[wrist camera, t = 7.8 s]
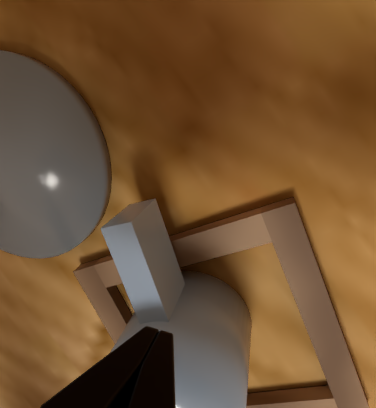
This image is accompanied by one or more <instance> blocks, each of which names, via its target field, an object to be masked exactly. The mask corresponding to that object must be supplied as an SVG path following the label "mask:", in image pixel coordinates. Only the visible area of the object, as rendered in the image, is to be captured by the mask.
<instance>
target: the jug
mask: <svg viewBox="0 0 376 408" xmlns="http://www.w3.org/2000/svg"><path fill="white" fill-rule="evenodd" d="M100 229H101V231H102V233H103V236H104V238H105V241H106V243H107V246H108V248H109V250H110V253H111V255H112V258H113V260H114V263H115V265H116V267H117V270H118V272H119V275H120V277H121V280H122V282H123V284H124V287H125V289H126V292H127V294H128V297H129V299H130V301H131V304H132V306H133V309H134V311H135V312H134V314H133V315H132V317H131V319H130V320H129V322H128V324H127V325H126V327H125V329H124V330H123V332H122V334H121V335H120V337H119V339H118V340H117V342H116V344H115V345H114V347H113V349H112V350H111V352H112V351H113V350H115V349H116V348H117V347H119V346H120V345H121V344H123V343H124V342H125V341H126V340H128V339H129V338H130V337H132V336H133V335H134V334H136V333H137V332H138V331H139V330H141V329H142V328H143V327H145V326H149V327H153V328H156V329H158V330H159V331H160V330H163V331H166V332H170V333H172V334H173V339H174V371H175V402H176V408H246V403H247V388H248V373H249V358H250V342H251V327H252V326H251V317H250V313H249V311H248V308H247V306H246V304H245V302H244V301H243V299H242V298H241V297H240V295H239V294H238V293H237V292H236V291H235V290H234V289H233V288H231V287H230V286H229V285H228V284H226V283H225V282H223V281H221V280H220V279H218V278H216V277H213V276H211V275H208V274H204V273H201V272H195V271H181V270H180V267H179V264H178V262H177V259H176V256H175V253H174V250H173V247H172V244H171V241H170V239H169V236H168V233H167V230H166V227H165V224H164V221H163V218H162V216H161V213H160V210H159V207H158V204H157V201H156V198H155V199H151V200H146V201H142V202H138V203H134V204H129V205H128V206H127V207H126V208H125V209H123V210H122V211H121V212H120V213H119V214H117V215H116V216H115V217H114V218H113V219H111V220H110V221H109V222H108V223H106V224H105V225H104V226H103V227H102V228H100ZM111 352H110V353H111Z"/></svg>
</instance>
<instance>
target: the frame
mask: <svg viewBox="0 0 376 408" xmlns="http://www.w3.org/2000/svg"><path fill="white" fill-rule="evenodd" d="M169 239H170V241H171V244H172V247H173V250H174V253H175V256H176V259H177V262H178V264H179V267H184V266H188V265H191V264H195V263H199V262H202V261H206V260H209V259H213V258H217V257H220V256H224V255H228V254H231V253H235V252H239V251H242V250H246V249H250V248H253V247H257V246H261V245H264V244H268V243H273V245H274V248H275V250H276V253H277V256H278V258H279V261H280V263H281V266H282V268H283V271H284V273H285V276H286V278H287V281H288V283H289V286H290V288H291V291H292V294H293V296H294V299H295V301H296V304H297V306H298V309H299V311H300V314H301V316H302V319H303V321H304V324H305V326H306V329H307V332H308V334H309V337H310V339H311V342H312V344H313V347H314V349H315V352H316V354H317V357H318V359H319V362H320V364H321V367H322V370H323V372H324V375H325V377H326V380H327V382H328V385H327V386H317V387H307V388H297V389H287V390H277V391H267V392H257V393H247V403H246V408H369V405H368V402H367V399H366V396H365V394H364V391H363V388H362V385H361V382H360V380H359V377H358V374H357V371H356V369H355V366H354V363H353V360H352V358H351V355H350V352H349V349H348V347H347V344H346V341H345V338H344V336H343V333H342V330H341V327H340V324H339V322H338V319H337V316H336V313H335V311H334V308H333V305H332V302H331V300H330V297H329V294H328V291H327V289H326V286H325V283H324V280H323V277H322V275H321V272H320V269H319V266H318V264H317V261H316V258H315V255H314V253H313V250H312V247H311V244H310V242H309V239H308V236H307V233H306V231H305V228H304V225H303V222H302V219H301V217H300V214H299V211H298V208H297V206H296V203H295V200H294V197H291V198H288V199H285V200H282V201H279V202H276V203H273V204H269V205H266V206H263V207H260V208H257V209H254V210H251V211H247V212H244V213H241V214H238V215H235V216H232V217H229V218H225V219H222V220H219V221H216V222H213V223H210V224H207V225H203V226H200V227H197V228H194V229H191V230H188V231H185V232H182V233H178V234H175V235H172V236H169ZM73 273H74V274H75V276H76V278H77V280H78V281H79V283H80V285H81V286H82V288H83V290H84V292H85V293H86V295H87V297H88V298H89V300H90V302H91V304H92V305H93V307H94V309H95V310H96V312H97V314H98V316H99V317H100V319H101V321H102V322H103V324H104V326H105V328H106V329H107V331H108V333H109V334H110V336H111V338H112V340H113V341H114V343H115V344H116V342H117V340H118V339H119V337H120V335H121V334H122V332H123V330H124V329H125V327H126V325H127V324H128V322H129V320H130V319H131V317H132V314H131V313H130V311H129V309H128V307H127V305H126V303H125V302H124V300H123V298H122V296H121V294H120V293H119V291H118V289H117V287H116V285H118V284H122V283H123V282H122V280H121V277H120V275H119V272H118V270H117V267H116V265H115V263H114V260H113V258H112V255H109V256H106V257H103V258H100V259H97V260H94V261H90V262H87V263H84V264H81V265H80V266H79V267H78V268H77V269H76V270H74V271H73Z"/></svg>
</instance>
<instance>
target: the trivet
mask: <svg viewBox="0 0 376 408" xmlns="http://www.w3.org/2000/svg"><path fill="white" fill-rule="evenodd" d="M110 192H111V164H110V158H109V153H108V149H107V145H106V142H105V139H104V136H103V133H102V131H101V129H100V126H99V124H98V122H97V120H96V118H95V116H94V115H93V113H92V111H91V109H90V108H89V106H88V105H87V103H86V102H85V101H84V99H83V98H82V96H81V95H80V94H79V93H78V92H77V91H76V90H75V88H74V87H73V86H72V85H71V84H70V83H69V82H68V81H67V80H66V79H64V78H63V77H62V76H61V75H60V74H59V73H57V72H56V71H55V70H53V69H52V68H50V67H49V66H47V65H46V64H44V63H42V62H40V61H38V60H36V59H34V58H32V57H29V56H26V55H23V54H20V53H14V52H9V51H3V50H0V249H1V250H3V251H5V252H8V253H11V254H14V255H17V256H21V257H27V258H49V257H54V256H58V255H61V254H63V253H66V252H68V251H70V250H71V249H73V248H74V247H76V246H77V245H79V244H80V243H81V242H82V241H84V240H85V239H86V238H87V237H88V236H89V235H90V234H91V233H92V232H93V231H94V230H95V229H96V227H97V226H98V225H99V223H100V221H101V219H102V218H103V216H104V214H105V211H106V208H107V205H108V202H109V197H110Z"/></svg>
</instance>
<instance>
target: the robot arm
mask: <svg viewBox="0 0 376 408" xmlns="http://www.w3.org/2000/svg"><path fill="white" fill-rule="evenodd" d="M40 408H176V402H175V371H174V339H173V334H172V333H170V332H166V331H163V330H160V331H159V330H158V329H156V328H153V327H149V326H145V327H143V328H142V329H141V330H139V331H138V332H137V333H136V334H134V335H133V336H132V337H130V338H129V339H128V340H126V341H125V342H124V343H123V344H121V345H120V346H119V347H117V348H116V349H115V350H113V351H112V352H111V353H109V354H108V355H107V356H106V357H104V358H103V359H102V360H100V361H99V362H98V363H96V364H95V365H94V366H92V367H91V368H90V369H89V370H87V371H86V372H85V373H83V374H82V375H81V376H79V377H78V378H77V379H75V380H74V381H73V382H72V383H70V384H69V385H68V386H66V387H65V388H64V389H62V390H61V391H60V392H58V393H57V394H56V395H55V396H53V397H52V398H51V399H49V400H48V401H47V402H45V403H44V404H43V405H41V407H40Z"/></svg>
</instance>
